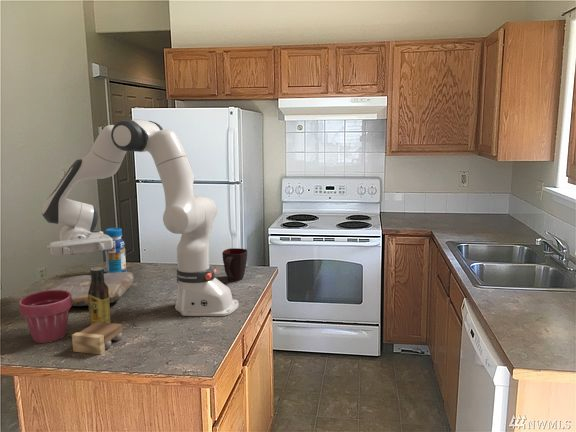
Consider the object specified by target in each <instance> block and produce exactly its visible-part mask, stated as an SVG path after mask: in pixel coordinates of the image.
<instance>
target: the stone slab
mask: <svg viewBox="0 0 576 432" xmlns="http://www.w3.org/2000/svg"><path fill="white" fill-rule="evenodd" d="M134 280H135V276H134V274H133V272H131V271H126V272H116V273H107V272H106V273H104V282H105V284H106V285H107V286H108V292H109V304H110V303H115V302H117V301H119V300H121V298H122V297H123V295H124V294H125V293H126V292H127V291H128V290H129V288H131V286H132V284H133V282H134ZM90 285H91V274H85V275H84V274H83V275H75V276H69V277H65V278H63V279H60V280H57V281H55V282H53V283H52V284H51V285H50V286H49V287H47V289H46V290H45V291H48V290H65V291H68V292H70V293H71V298H72V306H71V307H86V306H88V307H89V304H88V291H89V288H90Z"/></svg>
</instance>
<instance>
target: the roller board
mask: <svg viewBox="0 0 576 432" xmlns="http://www.w3.org/2000/svg"><path fill="white" fill-rule="evenodd" d="M122 332H124V331H123V324H122V323H111V322H110V323H103V322H95V323H94V324H92V325H90V324H89V326H88V327H87V326H86V328H84V329H82V330H81V331H79V332H77V331H75V332H73V334H71V340H72V341H71V343H72V351H73V352H74V353H75V352H77V353H85V354H93V355H94V354H95V355H103V353H105V352H106V350H107V349H108V350H109V349H111V346H112V341H117V342H118V341H119V342H120V341H121V340H122V337H123V333H122Z"/></svg>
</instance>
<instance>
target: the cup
mask: <svg viewBox="0 0 576 432" xmlns="http://www.w3.org/2000/svg"><path fill="white" fill-rule="evenodd" d="M221 254H222V262H223V267H224V273H225V275H226V278H227V280H228V281H233V282H234V281H235V282H239V281H241V280H243V279H244V276H245V271H246V268H247V267H246V266H247V261H248V249H247V248H246V249H245V248H238V247H237V248H236V247H234V248H226V249H224V250H223V251H222V253H221Z"/></svg>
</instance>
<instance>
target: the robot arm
mask: <svg viewBox="0 0 576 432" xmlns="http://www.w3.org/2000/svg"><path fill="white" fill-rule="evenodd" d="M128 152H129V153H135V152H138V153H145V152H147V153H149V155H151V157H152V159H153V163H154V165H155V167H156V170H157V173H158V176H159V179H160V181H161V184H162V187H163V192H164V201H165V203H164V204H165V208H164V209H165V210H164V212H163V215H162V223H163V225H164V227H165V228H166V230H167V231H169V232H171V234H176V235H181V236H180V238H179V239H180V240H179V242H178V244H177V247H176V259H177V269H176V282H177V296H176V302H175V307H174V308H175V310H176V311H177V312H178V313H180V315H181V316H183V317H184V316H185V317H186V316H187V317H225V316H228V315H231V314H232V313H234V312H235V311H236V310H237V309H238V308H239V306H240V305H239V301H238V300H237V299H233V295H232V292H231V289H230V287H228V286H227V285H226V284H224V283H223V282H222V281H220V280H219V279H218V278H216V277H215V276H216V272H217V268H215V269H212V267H211V266H210V241H211V234H212V228H213V224H214V221H215V218H216V216H217V212H218V209H217V204H216V202H215V201H214V200H213V199H212V198H210V197H207V196H203V195H198V196H195V192H194V181H195V174H194V171H193V169H192V167H191V164H190V161H189V158H188V155H187V153H186V150H185V149H184V147H183V144H182V142H181V140H180V138H179V137H178V134H177V133H176V132H174V131H173V130H171V129H163V126H161V125H160V124H159V123H158V122H154V121H152V120H143V119H123V120H119V121H117V122H116V123H115V124H108V125H105V127H103V128H102V130H101V131H100V132H99V134H98V136H97V137H96V139H95V141H94V143H93V144H92V147H91V150H90V151H89V153H88V154H86V155H85V156H84V157H83V158H80V159H76V160H75V161H74V162H73V163H72V164H71V166H70V167H69V168H68V169H67V171H66V173H65V174H64V175H63V177H62V178H61V180H60V182H59V183H58V185H56V187H55V189H54V190H53V192H52V193H51V194H50V195H49V197H47V199H46V201H45V202H44V203H43V206H42V209H41V215H42V217H43V219H45V221H46V222H47V223H48V224H55V225H63V227H62V228H61V229H60V231H59V240H57V241H52V242H50V243H49V245H46V248H47V250H49V251H50V252H49V253H50V256H51V257H58V256H60V257H61V256H66V255H68V256H73V255H74V256H83V255H85V254H89V253H91V252H103V251H105V250H107V249H112V248H113V239H112V238H111V237H110V236H108V235H106V233H104V231H100V230H99V231H98V230H95V229H96V227H97V224H98V219H99V215H98V211H97V209H96V207H95V206H94V205H93V204H89V203H85V202H82V201H78V200H74V199H71V198H67V197H68V196H69V194H70V193H71V191H72V189H73V188H74V186H75V185H76V184H77V183H79V182H81V181H87V180H101V179H102V180H104V179H108V178H110V177H112V176H114V175H115V174H117V172H118V171H119V169H120V167H121V165H122V163H123V161H124V158H125V156H126V153H128Z"/></svg>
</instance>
